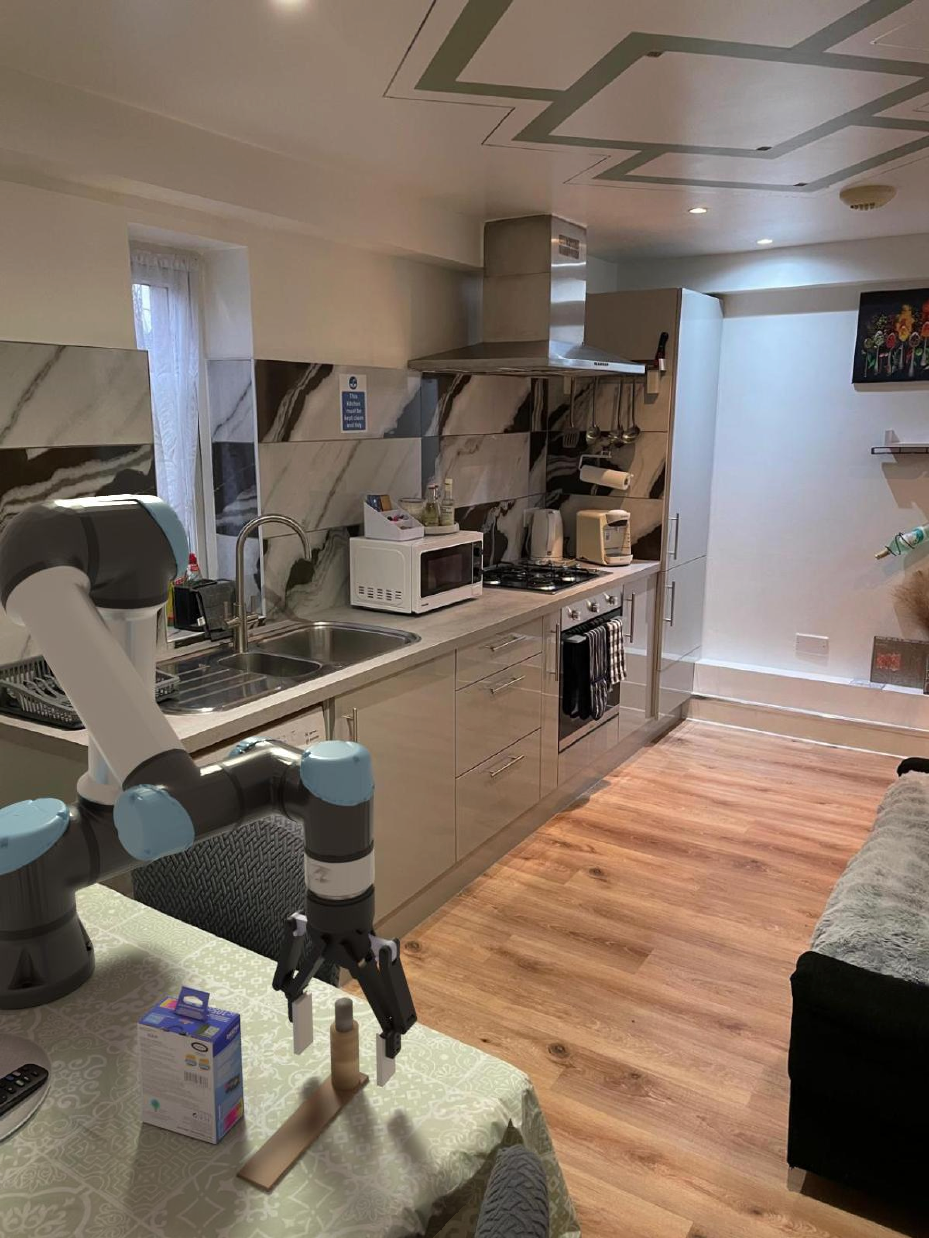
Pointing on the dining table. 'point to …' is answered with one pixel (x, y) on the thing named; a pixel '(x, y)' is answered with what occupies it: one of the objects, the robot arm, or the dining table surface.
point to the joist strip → (296, 1134)
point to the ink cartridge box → (191, 1067)
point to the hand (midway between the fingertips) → (343, 1062)
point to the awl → (344, 1047)
